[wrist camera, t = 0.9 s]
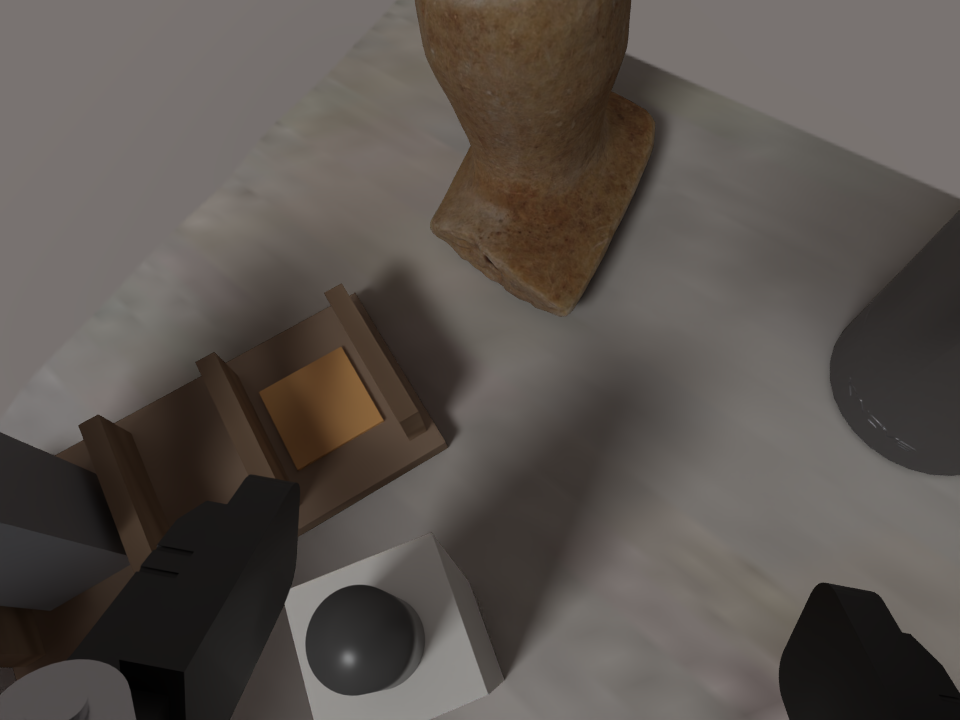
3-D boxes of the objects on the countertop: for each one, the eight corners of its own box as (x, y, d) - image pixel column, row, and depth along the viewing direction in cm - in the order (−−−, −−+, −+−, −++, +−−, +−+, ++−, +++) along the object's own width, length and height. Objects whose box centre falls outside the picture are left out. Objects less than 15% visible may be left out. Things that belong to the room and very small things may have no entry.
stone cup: (499, 72, 45) (487, -185, 32) (673, 132, 43) (743, -120, 29) (379, 254, 40) (303, 44, 27) (568, 335, 38) (591, 149, 24)
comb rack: (359, 301, 39) (341, 264, 36) (447, 448, 36) (438, 423, 32) (-20, 507, 36) (-83, 490, 32) (34, 693, 32) (-29, 697, 28)
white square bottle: (469, 581, 33) (416, 511, 17) (504, 680, 31) (481, 701, 16) (378, 618, 33) (241, 581, 17) (409, 720, 31) (287, 782, 15)
